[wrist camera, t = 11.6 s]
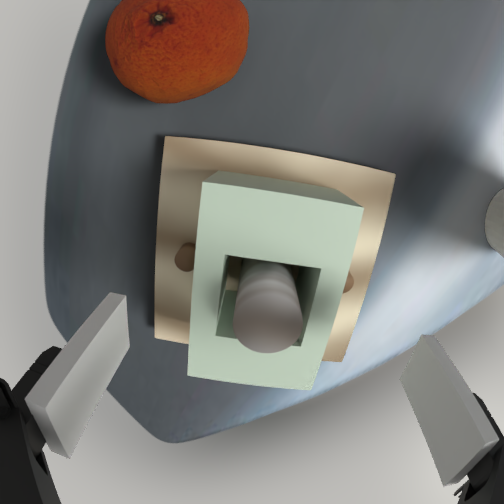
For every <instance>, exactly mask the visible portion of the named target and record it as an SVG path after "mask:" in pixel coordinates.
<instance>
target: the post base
mask: <svg viewBox="0 0 504 504" xmlns="http://www.w3.org/2000/svg"><path fill="white" fill-rule="evenodd" d="M218 170H219V171H227V172H234V173H241V174H248V175H255V176H262V177H269V178H275V179H281V180H287V181H293V182H299V183H305V184H310V185H316V186H321V187H327V188H332V189H337V190H338V191H340V192H342V193H343V194H345V195H346V196H348V197H349V198H350V199H352V200H353V201H355V202H356V203H358V204H359V205H361V206H362V207H364V211H363V215H362V220H361V224H360V228H359V232H358V237H357V241H356V245H355V249H354V253H353V257H352V261H351V264H350V268H349V272H348V276H347V279H346V283H345V286H344V290H343V293H342V297H341V300H340V304H339V307H338V311H337V314H336V317H335V320H334V324H333V327H332V330H331V333H330V336H329V339H328V342H327V346H326V349H325V352H324V355H323V358H322V360H321V361H334V362H342V360H343V358H344V355H345V352H346V349H347V347H348V344H349V341H350V338H351V336H352V333H353V330H354V327H355V324H356V321H357V318H358V315H359V312H360V309H361V306H362V303H363V300H364V297H365V294H366V290H367V287H368V284H369V280H370V277H371V274H372V270H373V267H374V263H375V260H376V256H377V252H378V249H379V245H380V241H381V237H382V233H383V229H384V225H385V221H386V217H387V213H388V208H389V204H390V200H391V195H392V190H393V186H394V181H395V176H396V174H393V173H390V172H386V171H382V170H378V169H374V168H370V167H366V166H361V165H357V164H353V163H348V162H343V161H339V160H334V159H329V158H324V157H319V156H314V155H309V154H303V153H298V152H292V151H286V150H280V149H274V148H268V147H261V146H254V145H247V144H240V143H232V142H224V141H215V140H206V139H197V138H186V137H174V136H165V142H164V151H163V160H162V170H161V180H160V192H159V205H158V219H157V237H156V260H155V338H159V339H164V340H169V341H175V342H180V343H186V344H189V334H190V316H191V301H192V287H193V274H194V262H195V250H196V239H197V229H198V219H199V209H200V200H201V191H202V182H203V181H204V180H206V179H207V178H208V177H210V176H211V175H213V174H214V173H216V172H217V171H218ZM299 266H300V265H293V264H286V263H279V262H272V261H265V260H258V259H252V258H245V257H238V256H231V255H230V258H229V266H228V274H227V282H226V290H231V291H237V297H236V304H235V310H234V317H233V330H234V334H235V336H236V338H237V339H238V340H239V342H240V343H241V344H242V345H244V346H245V347H246V348H248V349H250V350H252V351H255V352H259V353H276V352H280V351H282V350H285V349H287V348H288V347H290V346H291V345H292V344H294V343H295V342H296V341H297V339H298V338H299V336H300V334H301V332H302V328H303V318H302V313H301V309H300V304H299V300H298V295H297V291H296V286H295V285H296V280H297V276H298V271H299Z"/></svg>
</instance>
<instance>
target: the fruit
mask: <svg viewBox="0 0 504 504" xmlns="http://www.w3.org/2000/svg"><path fill="white" fill-rule="evenodd" d="M248 34H249V19H248V13H247V10H246V8H245V6H244V5H243V4H242V2H241V1H240V0H122V1H121V2H120V4H119V5H118V6H117V7H116V8H115V9H114V11H113V13H112V15H111V17H110V19H109V21H108V24H107V29H106V36H105V42H106V52H107V55H108V57H109V60H110V63H111V67H112V69H113V71H114V73H115V75H116V76H117V78H118V79H119V81H120V82H121V83H122V84H123V85H124V86H125V87H126V88H128V89H130V90H131V91H133V92H134V93H137V94H138V95H140V96H142V97H144V98H146V99H148V100H150V101H152V102H155V103H178V102H181V101H185V100H189V99H193V98H196V97H199V96H201V95H204V94H206V93H208V92H210V91H212V90H214V89H216V88H218V87H220V86H221V85H223V84H225V83H227V82H228V81H230V80H231V79H232V78H233V77H234V76H235V74H236V73H237V71H238V69H239V67H240V65H241V63H242V61H243V59H244V57H245V54H246V51H247V39H248Z"/></svg>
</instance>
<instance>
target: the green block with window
mask: <svg viewBox="0 0 504 504" xmlns="http://www.w3.org/2000/svg"><path fill="white" fill-rule="evenodd" d="M363 211H364V207H362V206H361V205H359V204H358V203H356V202H355V201H353V200H352V199H350V198H349V197H348V196H346V195H345V194H343V193H342V192H340V191H338V190H337V189H332V188H327V187H321V186H316V185H310V184H305V183H299V182H293V181H287V180H281V179H275V178H269V177H262V176H255V175H248V174H241V173H234V172H227V171H219V170H218V171H217V172H216V173H214V174H213V175H211V176H210V177H208V178H207V179H206V180H204V181H203V182H202V191H201V200H200V209H199V219H198V229H197V239H196V250H195V262H194V274H193V287H192V301H191V316H190V334H189V354H188V376H194V377H200V378H206V379H212V380H219V381H226V382H233V383H240V384H248V385H257V386H266V387H276V388H288V389H301V390H311V389H312V386H313V383H314V380H315V378H316V375H317V372H318V369H319V366H320V363H321V360H322V358H323V355H324V352H325V349H326V346H327V342H328V339H329V336H330V333H331V330H332V327H333V324H334V320H335V317H336V314H337V311H338V307H339V304H340V300H341V297H342V293H343V290H344V286H345V283H346V279H347V276H348V272H349V268H350V264H351V261H352V257H353V253H354V249H355V245H356V241H357V237H358V232H359V228H360V224H361V220H362V215H363ZM230 255H231V256H238V257H245V258H252V259H258V260H265V261H272V262H279V263H286V264H293V265H300V266H299V271H298V276H297V280H296V285H295V286H296V291H297V295H298V300H299V304H300V309H301V313H302V318H303V328H302V332H301V334H300V336H299V338H298V339H297V341H296V342H295V343H294V344H292V345H291V346H290V347H288V348H287V349H285V350H282V351H280V352H276V353H259V352H255V351H252V350H250V349H248V348H246V347H245V346H244V345H242V344H241V343H240V342H239V340H238V339H237V338H236V336H235V334H234V330H233V317H234V310H235V304H236V297H237V291H231V290H226V282H227V274H228V266H229V258H230Z"/></svg>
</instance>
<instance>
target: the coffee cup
mask: <svg viewBox="0 0 504 504" xmlns="http://www.w3.org/2000/svg"><path fill="white" fill-rule="evenodd" d="M485 234H486V238H487V241H488V243H489V244H490V246H491V247H492V248H493V249H494V250H496V251H497V252H498V253H499V254H500V255H501V256H503V257H504V189H502V190H500V191H499V192H498V193H497V194H496V195H495V196H494V197H493V199H492V200H491V202H490V204H489V206H488V209H487V213H486V217H485Z"/></svg>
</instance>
